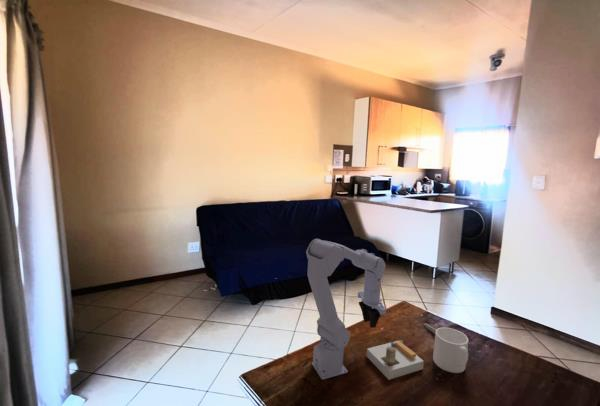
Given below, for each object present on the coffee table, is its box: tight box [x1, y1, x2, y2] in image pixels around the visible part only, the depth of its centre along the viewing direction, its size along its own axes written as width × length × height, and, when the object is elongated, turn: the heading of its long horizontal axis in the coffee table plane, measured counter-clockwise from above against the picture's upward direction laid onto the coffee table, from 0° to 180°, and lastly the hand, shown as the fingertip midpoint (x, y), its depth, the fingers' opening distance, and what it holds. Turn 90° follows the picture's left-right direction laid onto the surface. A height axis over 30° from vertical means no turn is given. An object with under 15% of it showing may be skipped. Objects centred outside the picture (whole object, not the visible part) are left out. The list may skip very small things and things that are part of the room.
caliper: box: [422, 323, 438, 334], centre depth 116 cm, size 20×1×6 cm, turn 10°
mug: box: [432, 327, 469, 374], centre depth 100 cm, size 13×10×10 cm
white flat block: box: [366, 339, 425, 381], centre depth 101 cm, size 14×12×4 cm
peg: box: [385, 347, 396, 366], centre depth 98 cm, size 3×3×7 cm
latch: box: [394, 340, 417, 358], centre depth 102 cm, size 2×8×1 cm, turn 22°
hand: (369, 323), depth 108 cm, fingers open, 3 cm apart
